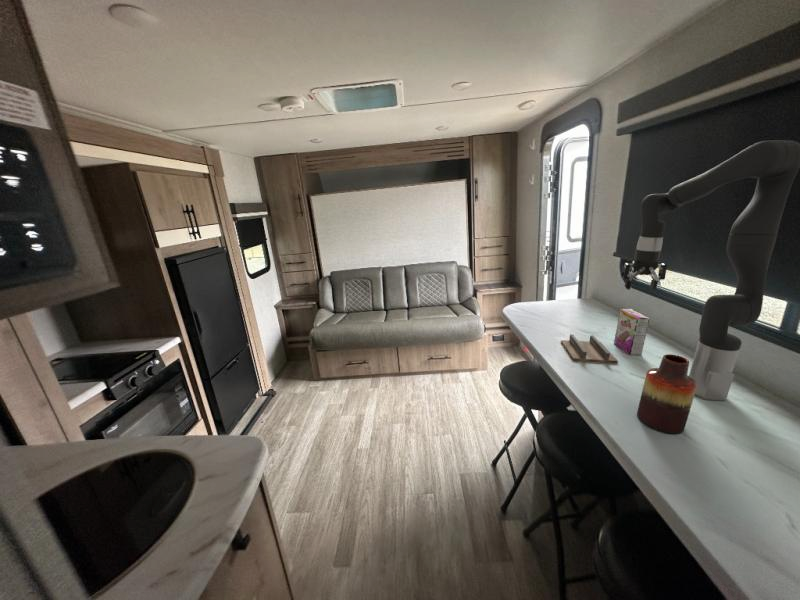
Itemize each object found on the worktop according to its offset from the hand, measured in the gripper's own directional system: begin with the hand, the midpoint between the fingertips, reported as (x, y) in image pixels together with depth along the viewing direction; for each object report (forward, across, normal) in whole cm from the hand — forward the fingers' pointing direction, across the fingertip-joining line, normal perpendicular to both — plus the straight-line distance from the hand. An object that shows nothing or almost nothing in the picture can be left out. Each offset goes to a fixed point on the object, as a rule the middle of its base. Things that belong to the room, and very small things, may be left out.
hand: (639, 289), depth 126 cm
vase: (+26, -12, -48) cm, 56 cm away
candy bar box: (+27, 0, 0) cm, 27 cm away
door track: (+26, -17, -5) cm, 32 cm away
